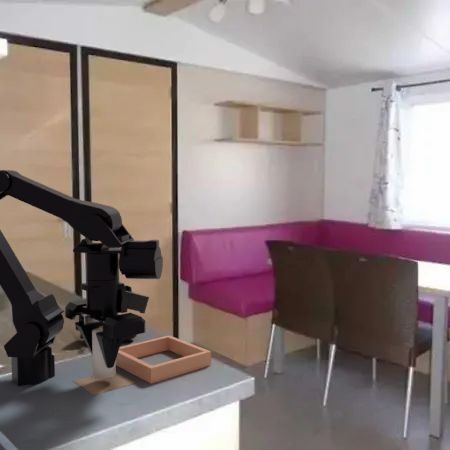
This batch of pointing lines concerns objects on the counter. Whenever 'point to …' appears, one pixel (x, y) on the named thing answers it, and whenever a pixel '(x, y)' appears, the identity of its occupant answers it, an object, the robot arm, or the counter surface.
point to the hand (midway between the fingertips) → (104, 364)
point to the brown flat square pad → (103, 383)
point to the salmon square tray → (190, 362)
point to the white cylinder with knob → (100, 359)
